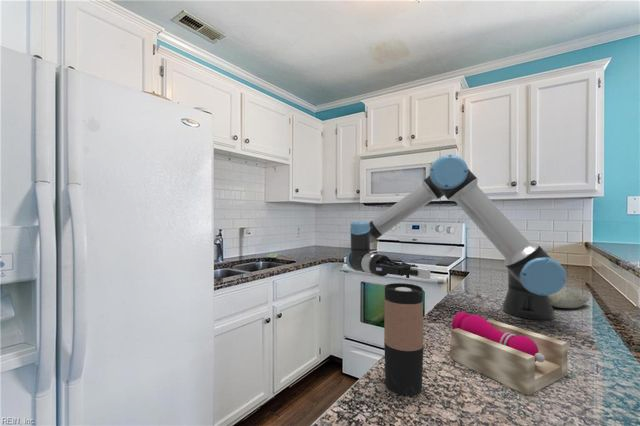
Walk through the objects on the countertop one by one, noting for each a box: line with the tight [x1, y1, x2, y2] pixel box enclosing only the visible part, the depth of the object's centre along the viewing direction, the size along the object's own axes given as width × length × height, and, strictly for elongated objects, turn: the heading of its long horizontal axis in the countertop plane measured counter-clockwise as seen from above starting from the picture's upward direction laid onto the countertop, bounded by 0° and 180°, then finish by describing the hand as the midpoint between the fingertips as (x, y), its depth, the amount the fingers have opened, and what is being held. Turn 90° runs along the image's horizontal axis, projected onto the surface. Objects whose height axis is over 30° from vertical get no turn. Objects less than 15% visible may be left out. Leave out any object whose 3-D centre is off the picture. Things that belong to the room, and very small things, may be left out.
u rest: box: [450, 318, 569, 397], centre depth 69 cm, size 17×16×7 cm
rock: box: [548, 287, 590, 309], centre depth 117 cm, size 8×11×20 cm
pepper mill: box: [451, 311, 545, 362], centre depth 70 cm, size 7×7×20 cm
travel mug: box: [383, 282, 424, 397], centre depth 61 cm, size 8×8×20 cm
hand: (428, 274), depth 88 cm, fingers closed
